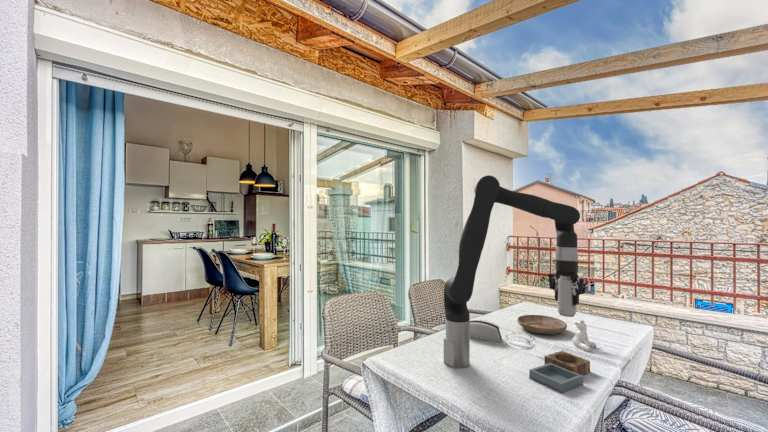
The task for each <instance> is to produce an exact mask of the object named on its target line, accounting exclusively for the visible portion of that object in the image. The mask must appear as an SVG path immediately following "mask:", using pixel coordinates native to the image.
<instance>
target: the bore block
mask: <svg viewBox="0 0 768 432" xmlns="http://www.w3.org/2000/svg"><path fill="white" fill-rule="evenodd" d="M549 363H552V364H554V365H557V366H559V367H562V368H564V369H567V370H569V371H572V372H574V373H577V374H579V375H582V376H584V375H586V374H588V373H590V372H591V360H589V359H585V358H583V357H581V356H578V355H574V354H572V353H570V352H569V353H568V352H566V351H563V350H561V351H560V350H559V351H557V352H553V353H549V354H547V355H544V365H546V364H549Z"/></svg>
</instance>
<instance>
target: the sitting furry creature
mask: <svg viewBox="0 0 768 432" xmlns="http://www.w3.org/2000/svg"><path fill="white" fill-rule="evenodd" d="M574 325H575V327H576V328H577V330H576V331H575V335H574V336H573V337H572V340H571V341H572V343H573V345H574V346H575V347H576V348H578V349H580V350H583V351H584V352H588V353H591V351H592V349H597V343H596V342H595V341H593V340H589V337H588V336H589V335H588V333H587V330H588V327H587V324H586V322H585V320H583V319H580V320H577V321H575V322H574ZM592 347H593V348H592Z"/></svg>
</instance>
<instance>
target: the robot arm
mask: <svg viewBox="0 0 768 432" xmlns="http://www.w3.org/2000/svg"><path fill="white" fill-rule="evenodd" d="M500 184H501V183H500V182H499V180H498V179H497V177H495V176H493V175H484V176H482V177H480V178H479V179H478V180H477V182H476V184H475V186H474V191H473V192H474V198H473V202H472V203H473V204H472V206H471V207H472V208H471V211H470V213H469V215H468V217H467V219H466V221H465V223H464V226H463V229H462V233H461V237H460V241H459V243H458V244H459V245H458V264H457V265H458V266H457V270H456V273H455V276H453V277H450V278H449V279H447V280H446V282H445V284H444V287H443V288H444V289H443V304H444V306H443V308H444V309H443V310H444V313H445V337H444V338H443V363H444V364H446V365H447V366H450V367H451V368H453V369H456V368H458V369H459V368H460V369H461V368H462V369H463V368H467V367H468V366H470V363H471V362H470V361H471V360H470V352H471V351H470V345H471V343H470V339H471V337H470V320H471V319H470V312H469V309H468V305H467V303H468V302H469V301H470V299H471V298H472V295H473V293H474V286H475V279H476V273H477V270H478V268H479V267H478V266H479V263H480V260H481V256H482V253H483V250H484V246H485V243H486V239H487V234H488V230H489V227H490V226H489V225H490V220H491V215H492V211H493V208H494V205H495V203H496V204H501V205H505V206H508V207H511V208H515V209H517V210H520V211H523V212H526V213H528V214H532V215H534V216H538V217H540V218H541V217H542V218H546V219H551V220H553V221H554V227H555V232H556V233H555V234H556V249H555V273H553V272H552V273H548V274H547V275H548V283H549V284H548V285H549V289H550V290H553V291H554V299H555V301H556V302H558V279H559V278H560V277H561V276H568V277H570V279H571V281H572V283H574V282H575V283H576V286H573V285H572V283H571V282H570V289H571V290H572V293H573V305H576V306H578V305H579V304H580V295H584V294H586V288H587V281H588V280H587V278H586V277H580V276H579V274H578V273H579V251H578V234H577V233H576V232H575V225H576V224H577V223H578V222H579V221H580V218H581V213H580V212H579V210H578V209H577V208H575V207H574V206H571V205H569V204H564V203H560V202H555V201H551V200H549V199H547V198H543V197H541V196H537V195H534V194H529V193H524V192H518V191H515V190H511V189H508V188H505V187H502V186H501V185H500ZM568 277H566V278H567V279H568V281H570V280H569V278H568ZM556 280H557V281H556ZM577 283H578V284H577Z"/></svg>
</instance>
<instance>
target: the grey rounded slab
mask: <svg viewBox="0 0 768 432" xmlns="http://www.w3.org/2000/svg"><path fill="white" fill-rule="evenodd" d="M470 338H475V339H479V340H480V339H481V340H484V341H490V342H495V343H499V344H500V343H501V342H502V341H501V340H503V337H502V334H501V331H500V327H499V325H498V324H497V323H493V322H490V321H488V320H484V319H483V320H482V319H470Z"/></svg>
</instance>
